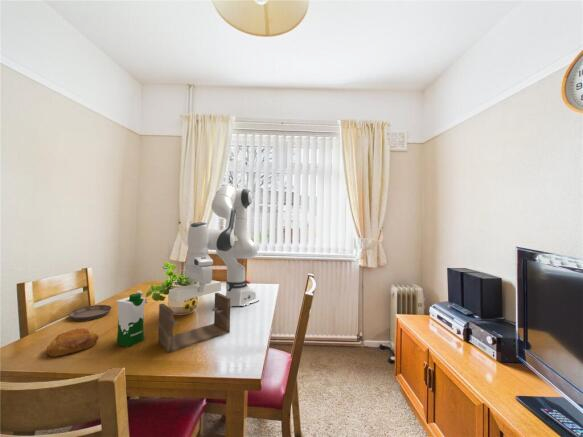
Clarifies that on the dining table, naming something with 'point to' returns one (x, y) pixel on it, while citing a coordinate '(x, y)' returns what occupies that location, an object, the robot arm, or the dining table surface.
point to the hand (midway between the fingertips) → (196, 290)
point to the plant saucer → (90, 312)
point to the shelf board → (193, 291)
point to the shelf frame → (195, 335)
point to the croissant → (72, 342)
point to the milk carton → (130, 320)
